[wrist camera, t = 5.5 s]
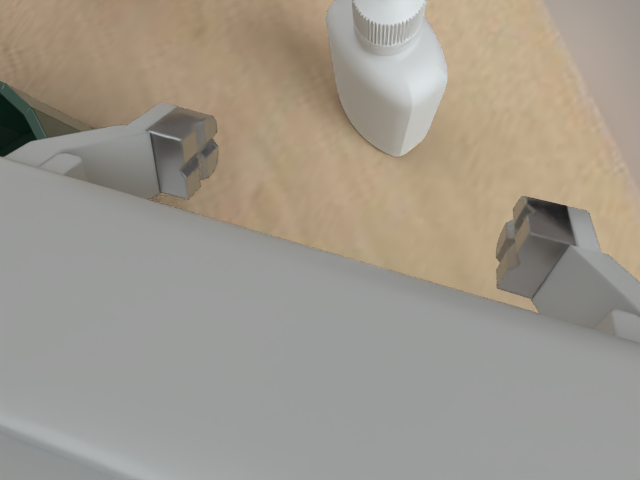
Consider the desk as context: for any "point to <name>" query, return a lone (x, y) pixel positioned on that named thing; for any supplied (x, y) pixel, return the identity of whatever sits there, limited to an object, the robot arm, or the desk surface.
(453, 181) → the desk surface
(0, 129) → the tin
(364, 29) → the eye dropper bottle
